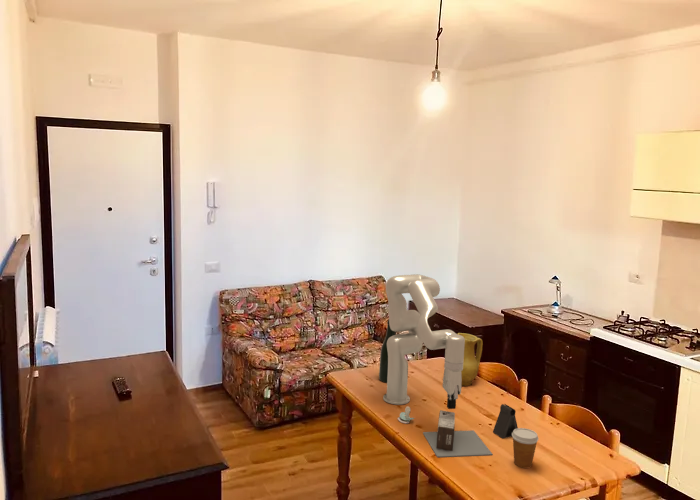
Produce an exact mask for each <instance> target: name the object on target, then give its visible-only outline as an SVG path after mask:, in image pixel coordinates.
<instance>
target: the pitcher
mask: <svg viewBox="0 0 700 500" xmlns="http://www.w3.org/2000/svg"><path fill="white" fill-rule="evenodd" d="M456 334H457V335H461V336H463V337H464V339H465V344H464V360H463V370H462V371H461V378H462V381H461V387H463V386H464V387H467V386H472V385H473V380H475V379H476V378H477V376H478V374H479V366H480V361H481V357H482V353H483V345H484V344H483V339H482V338H480V337H478V336H476V335H473V334H470V333H464V332H463V333H462V332H458V333H456ZM475 345H476V350H475ZM475 352H476V353H475Z"/></svg>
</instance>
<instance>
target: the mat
mask: <svg viewBox="0 0 700 500" xmlns="http://www.w3.org/2000/svg"><path fill="white" fill-rule="evenodd" d="M437 432H438V431H423V432H422V435H423V436H424V438H425V439H426V441H427V442H428V445H429V447H430V448H431V449H432V451H433V453H434V455H435V457H436V458H454V457H459V458H460V457H461V458H462V457H479V456H480V457H481V456H482V457H483V456H485V457H486V456H493V452H491V450H490V449H489V447H488V446H487V445H486V444H485V443H484V441H483V440H482V439H481V437H479V435H478V433H477V432H475V430H474V429H473V430H455V431H454V442H453V451H449V450H443V449H438V448H436V446H437Z"/></svg>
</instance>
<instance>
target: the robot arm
mask: <svg viewBox="0 0 700 500" xmlns="http://www.w3.org/2000/svg"><path fill="white" fill-rule="evenodd" d="M440 291H441V287H440V284H439V282H438V281H437V280H436V279H435V278H432V277H429V276H425V275H422V274H416V273H415V274H402V275H394V276H391V277H389V278H388V279H387V281H386V283H385V293H386V297H387V301H388V302H387V304H388V319H389V325H390V328H391V330H392V331H395V332H397V333H398V334H396V335H393V336H391V337H390V338H389V339H388V340H387V351H388V377H387V383H386V393H385V394H383V396H382V397H383V398H382V400H383V401H384V402H386V403H388V404H392V405H397V406H398V405H399V406H400V405H406V404H408V403H410V400H411V398H410V396H409V395H408V377H409V362H408V360H407V358H406V355H410V354H416V353H419V352H420V351H422V349H423V346H424V347H426V348H427V349H429V350H431V351H432V350H433V351H435V350H441V349H445V350H444V363H443V364H444V366H443V367H444V368H443V369H444V370H443V378H442V388H443V390H444V391H445V392H446V395H447V396H446V397H447V399H446V408H447V409H448V410H455V409H457V408H456V405H457V404H456V403H457V400H458V399H459V395H461V393H462V386H461V381H462V378H461V371H462V370H463V360H464V344H465V339H464V337H463V336H461V335H457V334H458V333H456V332H455V331H454V330H452V329H440V330H431V326H430V325H429V322H428V319H429V318H430V317H432V316H434V315H435V314H436V313H437V312H438V311H439V310H438V309H439V307H438V304H437V302H436V300H435V299H434V298H436V297H438V296H439V294H440ZM404 294H409V295H410V297H411V299H412V302H413V303H414V305H415V307H416V309H417V310H415V309H408V304H407V300H406V298H405V296H404ZM407 331H408V332H407ZM399 332H400V334H399ZM402 332H407V333H402Z"/></svg>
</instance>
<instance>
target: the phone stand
mask: <svg viewBox="0 0 700 500" xmlns="http://www.w3.org/2000/svg"><path fill="white" fill-rule="evenodd" d="M499 409H500V411H499V413H498V417H497V419H496V422H495V424H494V427H493V430H492V433H494V434H495V435H496V436H498V437H500V438H501V439H507V438H513V437H512V433H513V431H514V430H515V429H517V428H519V427H518V422H517V418H516V409H514V408H513V407H511V406H510V405H507V404H506V403H501V405H500V407H499Z"/></svg>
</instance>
